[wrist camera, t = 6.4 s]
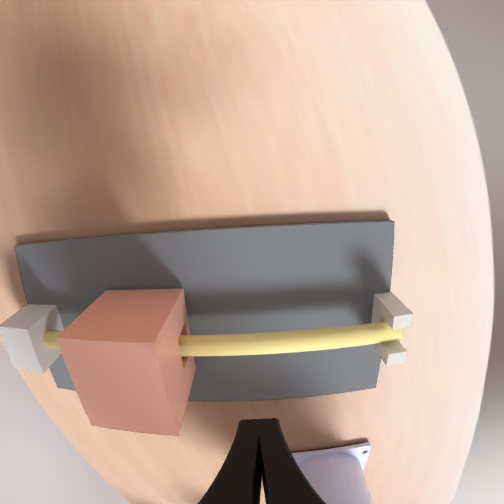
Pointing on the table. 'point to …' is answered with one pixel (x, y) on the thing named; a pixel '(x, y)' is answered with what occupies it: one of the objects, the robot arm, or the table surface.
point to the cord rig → (232, 303)
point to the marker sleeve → (131, 360)
